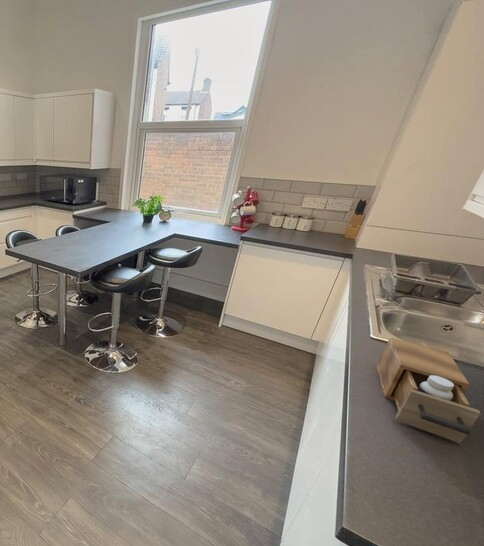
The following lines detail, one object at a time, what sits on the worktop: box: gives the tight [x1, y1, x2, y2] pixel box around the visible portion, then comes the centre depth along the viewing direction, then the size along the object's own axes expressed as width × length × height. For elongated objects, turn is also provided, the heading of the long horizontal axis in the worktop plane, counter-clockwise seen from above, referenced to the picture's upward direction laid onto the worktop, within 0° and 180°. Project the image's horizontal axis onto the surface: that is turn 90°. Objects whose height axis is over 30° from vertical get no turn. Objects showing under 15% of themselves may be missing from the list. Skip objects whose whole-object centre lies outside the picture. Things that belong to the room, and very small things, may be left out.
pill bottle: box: [417, 375, 454, 401], centre depth 74 cm, size 5×5×10 cm
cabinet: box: [375, 337, 471, 402], centre depth 84 cm, size 16×12×11 cm
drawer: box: [392, 369, 481, 444], centre depth 74 cm, size 19×11×9 cm, turn 144°
